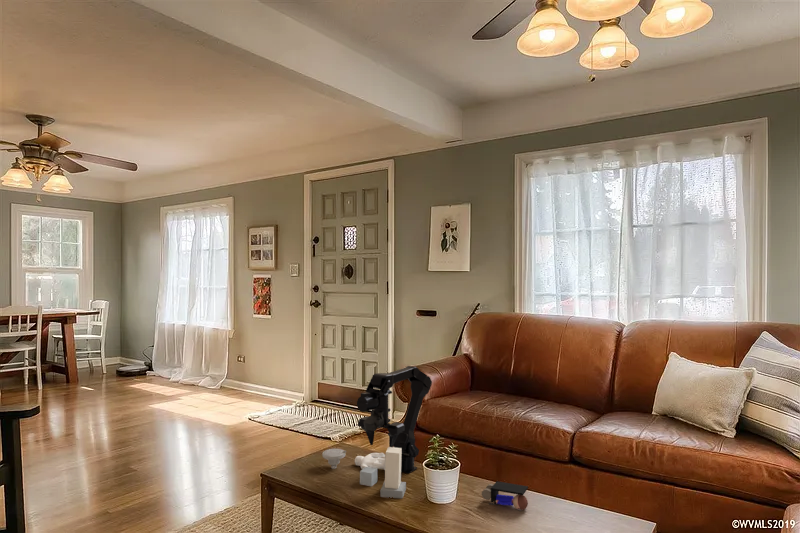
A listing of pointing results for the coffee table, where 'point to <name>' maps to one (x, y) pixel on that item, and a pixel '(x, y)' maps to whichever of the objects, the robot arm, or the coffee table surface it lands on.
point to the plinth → (393, 491)
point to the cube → (368, 476)
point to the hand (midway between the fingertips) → (381, 447)
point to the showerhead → (333, 456)
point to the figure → (371, 461)
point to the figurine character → (517, 501)
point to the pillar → (393, 467)
